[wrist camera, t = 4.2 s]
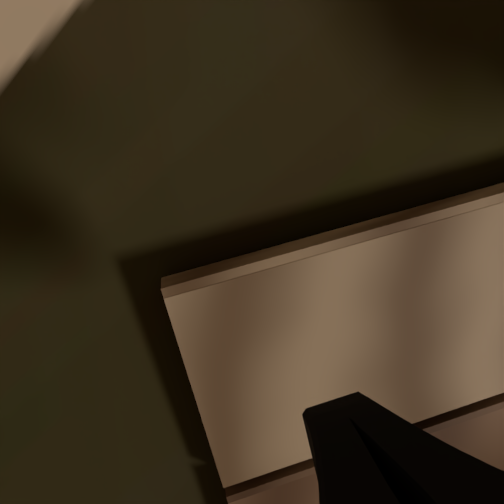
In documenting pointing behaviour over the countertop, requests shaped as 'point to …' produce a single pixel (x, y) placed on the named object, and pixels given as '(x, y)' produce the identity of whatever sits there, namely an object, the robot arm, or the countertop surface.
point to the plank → (344, 327)
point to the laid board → (441, 426)
